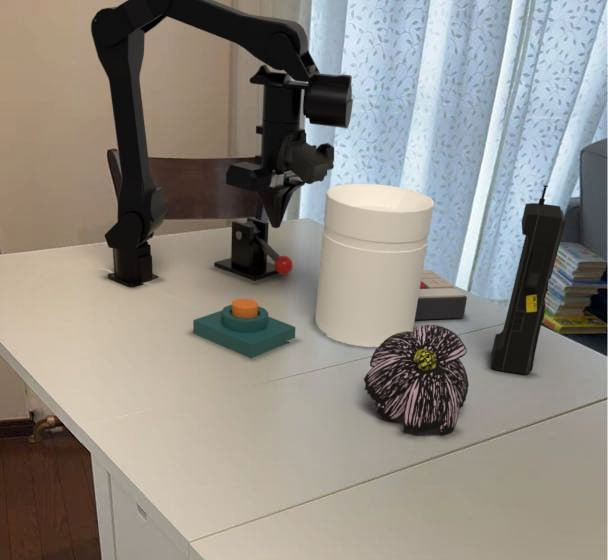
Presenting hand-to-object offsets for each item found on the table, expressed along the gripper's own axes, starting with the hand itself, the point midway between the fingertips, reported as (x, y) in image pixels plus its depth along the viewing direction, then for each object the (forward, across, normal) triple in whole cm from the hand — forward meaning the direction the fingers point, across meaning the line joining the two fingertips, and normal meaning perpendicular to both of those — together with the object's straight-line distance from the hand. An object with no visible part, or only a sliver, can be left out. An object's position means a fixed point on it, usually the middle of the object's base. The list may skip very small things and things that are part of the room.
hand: (275, 227), depth 129 cm
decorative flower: (+12, -18, -39) cm, 45 cm away
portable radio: (+12, +6, -42) cm, 44 cm away
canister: (+12, +2, -18) cm, 22 cm away
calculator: (+12, +18, -18) cm, 28 cm away
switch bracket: (+12, +8, +12) cm, 19 cm away
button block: (+12, -16, -7) cm, 21 cm away
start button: (+8, -16, -7) cm, 19 cm away
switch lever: (+8, +8, +8) cm, 14 cm away
